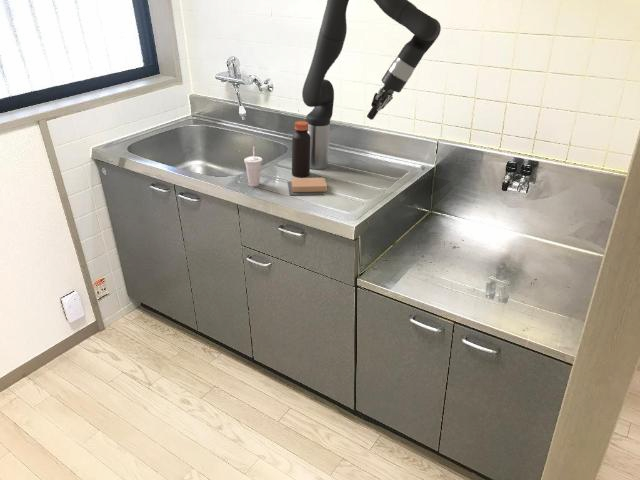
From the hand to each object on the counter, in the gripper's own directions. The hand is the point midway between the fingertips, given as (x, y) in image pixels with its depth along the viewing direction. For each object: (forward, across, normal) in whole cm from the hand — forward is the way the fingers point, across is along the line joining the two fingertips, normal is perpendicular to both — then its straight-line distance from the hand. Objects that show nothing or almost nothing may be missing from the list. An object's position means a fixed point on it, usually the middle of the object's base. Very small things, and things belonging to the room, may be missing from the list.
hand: (369, 118), depth 184 cm
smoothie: (+42, +14, -18) cm, 48 cm away
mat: (+32, +8, -3) cm, 33 cm away
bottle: (+34, -3, -11) cm, 36 cm away
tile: (+27, +5, +1) cm, 28 cm away
